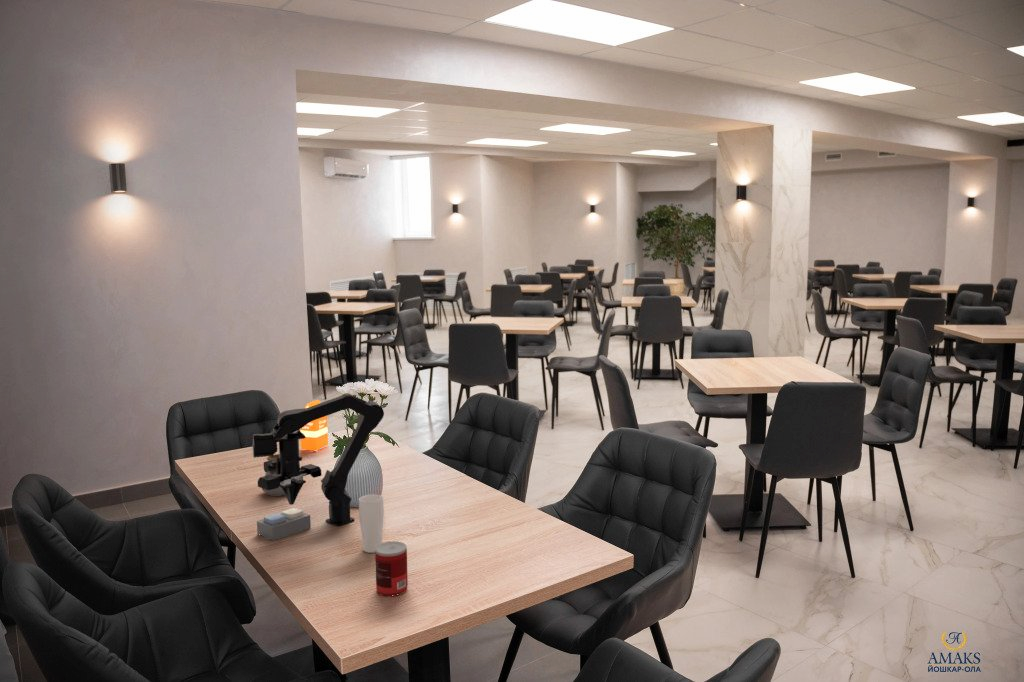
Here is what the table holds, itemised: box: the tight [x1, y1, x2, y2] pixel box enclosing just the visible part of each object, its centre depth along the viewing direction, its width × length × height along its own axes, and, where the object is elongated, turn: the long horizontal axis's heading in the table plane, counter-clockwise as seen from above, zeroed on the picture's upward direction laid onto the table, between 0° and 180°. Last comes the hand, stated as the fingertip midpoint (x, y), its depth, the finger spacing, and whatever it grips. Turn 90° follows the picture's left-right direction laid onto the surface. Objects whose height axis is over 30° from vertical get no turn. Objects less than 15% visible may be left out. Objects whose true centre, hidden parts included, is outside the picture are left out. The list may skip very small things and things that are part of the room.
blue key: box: [263, 512, 286, 525], centre depth 224 cm, size 4×4×4 cm
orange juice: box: [299, 399, 329, 450], centre depth 317 cm, size 8×9×20 cm
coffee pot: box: [261, 453, 286, 497], centre depth 256 cm, size 21×12×15 cm, turn 30°
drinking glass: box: [358, 493, 385, 554], centre depth 211 cm, size 7×7×15 cm
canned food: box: [374, 540, 409, 597], centre depth 187 cm, size 8×8×11 cm
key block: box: [256, 512, 312, 541], centre depth 226 cm, size 8×13×4 cm, turn 140°
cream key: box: [281, 507, 304, 519], centre depth 228 cm, size 4×4×4 cm
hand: (291, 504), depth 228 cm, fingers closed
